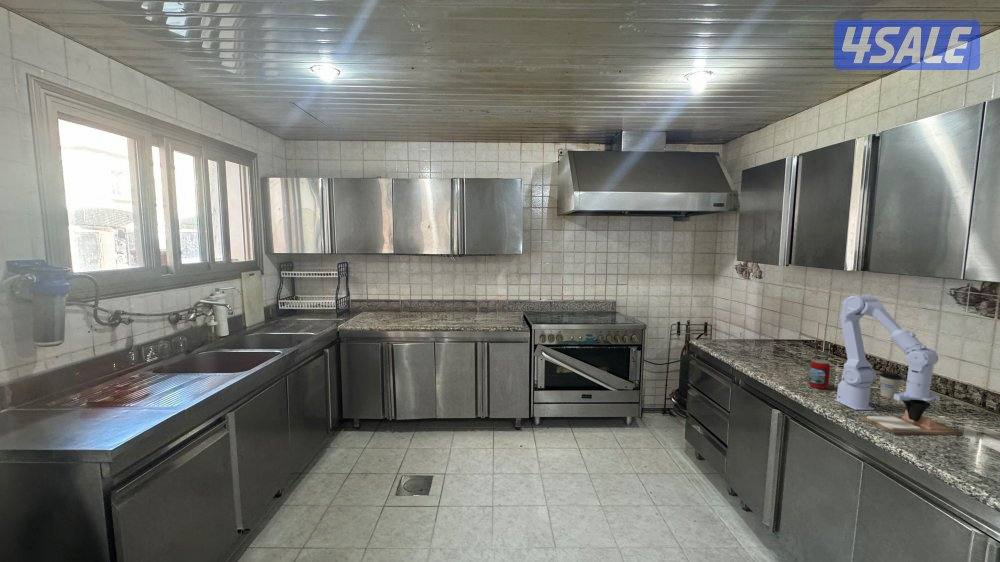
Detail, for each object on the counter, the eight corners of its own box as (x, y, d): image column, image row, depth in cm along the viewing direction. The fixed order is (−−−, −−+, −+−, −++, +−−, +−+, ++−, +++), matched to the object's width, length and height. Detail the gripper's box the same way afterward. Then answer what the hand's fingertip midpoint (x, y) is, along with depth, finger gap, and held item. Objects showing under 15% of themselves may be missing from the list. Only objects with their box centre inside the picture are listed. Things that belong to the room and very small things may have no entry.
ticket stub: (902, 417, 143) (903, 409, 143) (917, 417, 143) (919, 409, 143) (929, 429, 134) (931, 421, 134) (946, 429, 134) (947, 421, 134)
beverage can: (804, 385, 177) (807, 359, 176) (815, 383, 179) (818, 358, 178) (821, 390, 171) (823, 364, 170) (831, 389, 173) (834, 362, 172)
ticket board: (860, 418, 144) (860, 414, 144) (922, 418, 145) (923, 414, 145) (893, 434, 132) (894, 430, 132) (961, 434, 133) (962, 430, 133)
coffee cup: (887, 393, 170) (890, 370, 168) (904, 399, 163) (907, 376, 162) (872, 393, 169) (874, 370, 168) (888, 399, 162) (891, 376, 161)
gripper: (910, 386, 133) (905, 425, 134) (951, 387, 133) (946, 425, 134) (889, 379, 140) (885, 415, 141) (928, 379, 140) (923, 416, 141)
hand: (913, 419), depth 138 cm, fingers closed
